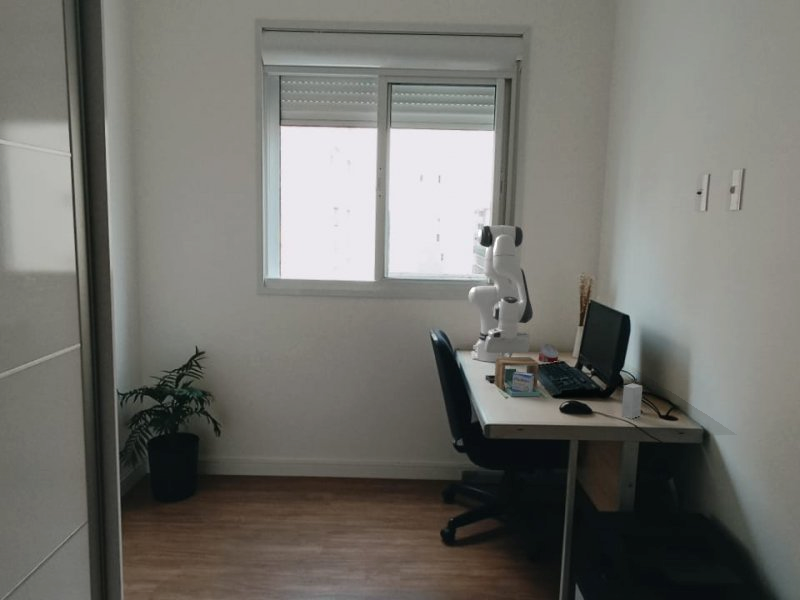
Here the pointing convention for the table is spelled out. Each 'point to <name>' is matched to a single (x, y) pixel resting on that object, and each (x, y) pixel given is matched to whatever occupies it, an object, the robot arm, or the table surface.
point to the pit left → (490, 378)
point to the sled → (510, 381)
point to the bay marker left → (502, 393)
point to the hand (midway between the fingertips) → (505, 361)
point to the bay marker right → (542, 393)
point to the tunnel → (514, 361)
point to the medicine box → (522, 382)
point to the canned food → (548, 353)
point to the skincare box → (632, 400)
